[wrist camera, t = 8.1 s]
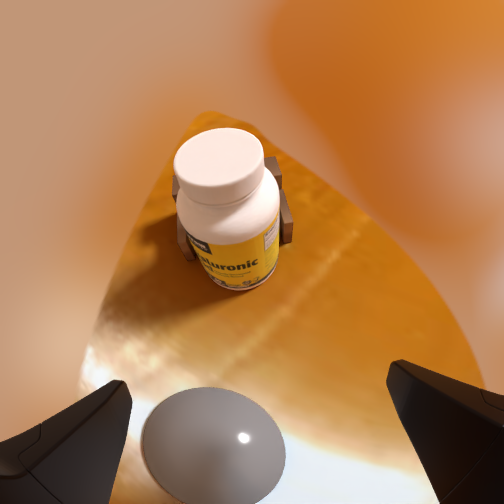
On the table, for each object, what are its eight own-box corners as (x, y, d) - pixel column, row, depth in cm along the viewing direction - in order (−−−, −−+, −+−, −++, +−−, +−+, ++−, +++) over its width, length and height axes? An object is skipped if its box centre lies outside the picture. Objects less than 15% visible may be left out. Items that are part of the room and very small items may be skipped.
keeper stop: (291, 241, 20) (294, 207, 17) (187, 260, 20) (170, 230, 16) (276, 191, 22) (276, 156, 19) (185, 208, 22) (171, 175, 19)
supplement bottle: (192, 279, 19) (134, 185, 11) (222, 219, 22) (194, 114, 13) (263, 303, 18) (253, 213, 9) (288, 237, 20) (294, 127, 12)
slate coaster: (236, 528, 10) (235, 530, 10) (124, 455, 13) (121, 456, 12) (313, 431, 13) (314, 432, 13) (190, 360, 16) (188, 360, 16)
